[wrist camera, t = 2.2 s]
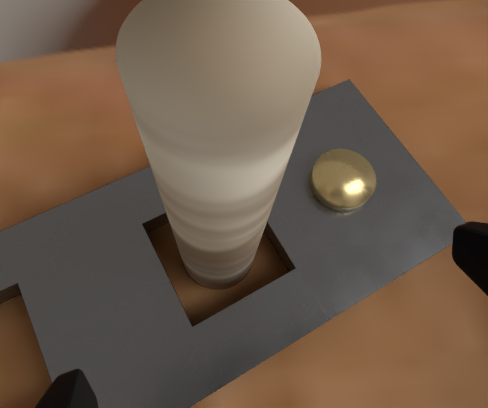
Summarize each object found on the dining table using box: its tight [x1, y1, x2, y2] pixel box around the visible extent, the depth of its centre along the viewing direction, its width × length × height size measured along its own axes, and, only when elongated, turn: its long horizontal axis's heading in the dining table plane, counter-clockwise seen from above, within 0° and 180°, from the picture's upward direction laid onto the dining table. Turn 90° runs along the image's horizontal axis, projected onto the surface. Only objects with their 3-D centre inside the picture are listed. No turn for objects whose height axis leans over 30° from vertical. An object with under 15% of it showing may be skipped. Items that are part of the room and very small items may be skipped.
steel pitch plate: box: [0, 79, 466, 408], centre depth 19 cm, size 30×12×2 cm, turn 120°
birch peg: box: [116, 0, 321, 289], centre depth 14 cm, size 4×4×15 cm
